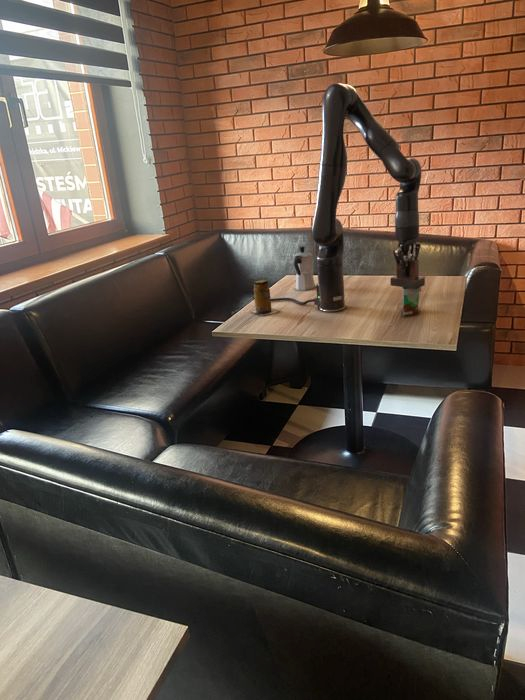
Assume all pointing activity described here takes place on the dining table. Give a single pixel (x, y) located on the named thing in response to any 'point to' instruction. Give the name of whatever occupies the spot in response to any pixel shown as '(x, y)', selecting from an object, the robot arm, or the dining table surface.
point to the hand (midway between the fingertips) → (407, 275)
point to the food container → (410, 301)
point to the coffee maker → (303, 270)
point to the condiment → (262, 298)
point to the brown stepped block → (412, 279)
